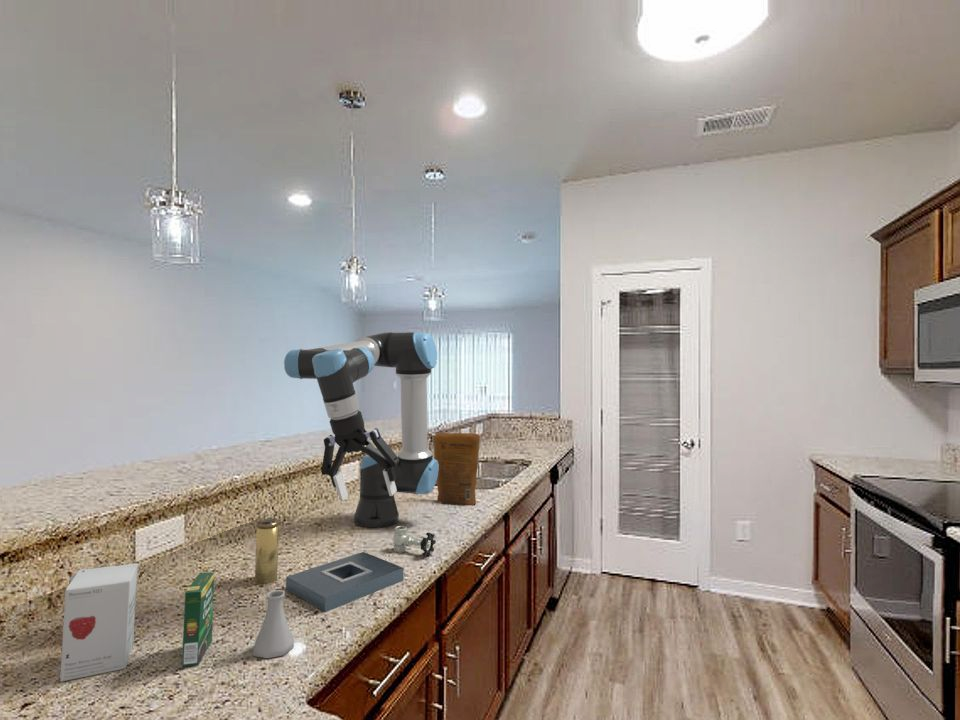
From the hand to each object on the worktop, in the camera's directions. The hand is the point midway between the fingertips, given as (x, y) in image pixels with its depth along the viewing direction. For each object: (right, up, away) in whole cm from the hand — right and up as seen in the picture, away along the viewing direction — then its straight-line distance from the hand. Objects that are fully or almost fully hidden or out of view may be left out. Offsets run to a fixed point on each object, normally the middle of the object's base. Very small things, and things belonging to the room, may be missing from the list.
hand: (368, 495), depth 121 cm
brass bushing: (-25, -20, -1) cm, 32 cm away
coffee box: (-23, -20, -33) cm, 45 cm away
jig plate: (-5, -21, -2) cm, 21 cm away
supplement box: (-39, -19, -36) cm, 56 cm away
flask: (-11, -20, -30) cm, 38 cm away
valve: (+8, -22, +20) cm, 30 cm away
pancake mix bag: (+18, -24, +74) cm, 79 cm away
